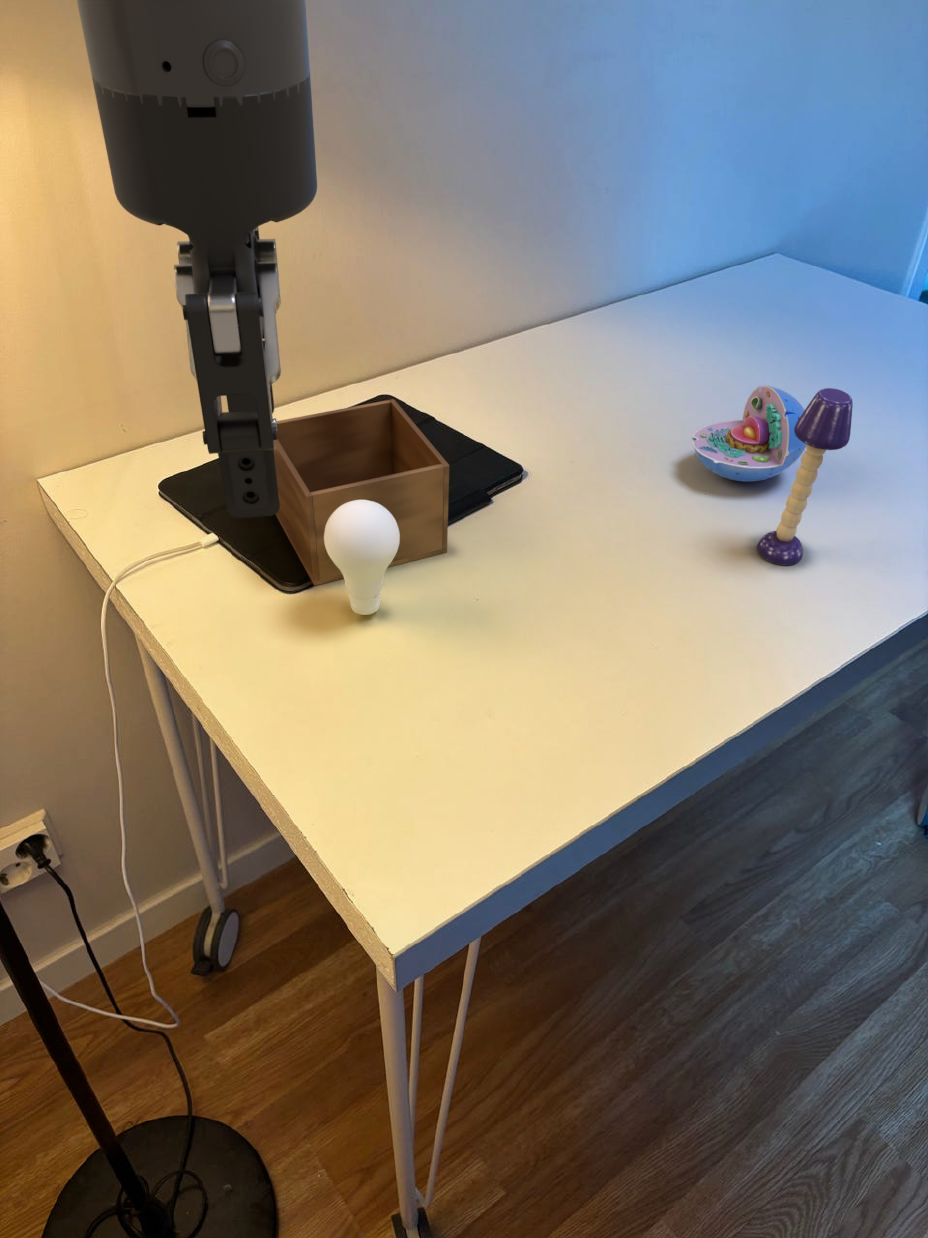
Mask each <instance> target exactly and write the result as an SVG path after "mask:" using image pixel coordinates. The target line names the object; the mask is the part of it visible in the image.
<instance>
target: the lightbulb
mask: <svg viewBox="0 0 928 1238" xmlns="http://www.w3.org/2000/svg"><path fill="white" fill-rule="evenodd" d="M324 543H325V548H326V550H327V553H328V555H329V557H330V558H331V559H332V561H333V562H334V564H335V565H336V566H337V567H338V568H339V569H340V571H341V572H342V574H343V577H344V578H343V580H344V584H345V589H346V591H347V593H348V597H349V605H350V608H351V610H352V611H353V612H354V613H355V614H357V615H361V616H368V615H372V614H374V613H376V612H377V611H378V610H379V609H380V606H381V593H382V590H383V587H384V578H385V573H386V571H387V569H388V568H389V567H388V566H389V564H390V563H391V562H392V560H393V558H394V557H395V555H396V553H397V550H398V547H399V543H400V533H399V529H398V525H397V523H396V520H395V518H394V517H393V516H392V514H391V513H390V512H389V511H388V510H387V509H386V508H385V507H383V506H382V505H380V504H378V503H376V502H373V501H369V500H354V501H350V502H347V503H345V504H343V505H341V506H340V507H339V508H337V509H336V510H335V511H334V512H333V514H332V515H331V516H330V518H329V519H328V521H327V524H326V527H325V532H324Z"/></svg>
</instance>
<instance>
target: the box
mask: <svg viewBox="0 0 928 1238" xmlns="http://www.w3.org/2000/svg"><path fill="white" fill-rule="evenodd" d="M276 421H277V431H276V432H277V440H274V456H275V465H276V474H277V483H278V492H279V504H280V508H279V511H278V512H277V513H276V514H274V515H275V516H276V519H277V520H278V521H279V522H278V523H279V524H280V526H281V527H282V529H283V532H284V533H285V534H286V537H287V539H288V540H289V542H290V545H292V547H293V549H294V551H295V553H296V555H297V556H298V558H299V561H300V562H301V565H302V566H303V568H304V569H305V571H306V573H307V575H308V577H309V579H310V581H311V582H312V584H313V586H319V585H324V584H327V583H331V582H334V581H339V580H344V577H343V574H342V572H341V571H340V569H339V568H338V567H337V566H336V565H335V564H334V562H333V561H332V559H331V558H330V557H329V555H328V553H327V550H326V548H325V543H324V532H325V527H326V524H327V521H328V519H329V518H330V516H331V515H332V514H333V512H334V511H335V510H336V509H337V508H339V507H340V506H341V505H343V504H345V503H347V502H350V501H354V500H369V501H373V502H376V503H378V504H380V505H382V506H383V507H385V508H386V509H387V510H388V511H389V512H390V513H391V514H392V516H393V517H394V518H395V520H396V523H397V525H398V529H399V533H400V543H399V547H398V550H397V553H396V555H395V557H394V558H393V560H392V562H391V563H390V564H389V566H388V567H387V568H390V567H391V568H392V567H394V566H399V565H402V564H406V563H410V562H414V561H418V560H421V559H426V558H430V557H434V556H437V555H441V554H445V553H448V535H449V534H448V533H449V531H448V530H449V529H448V527H449V523H448V522H449V491H450V489H449V487H450V484H449V483H450V464H449V463H448V462H447V461H446V460H445V458H444V457H443V456H442V455H441V453H440V452H439V450H438V449H437V448H436V447H435V446H434V445H433V444H432V442H430V440H429V439H428V438H427V437H426V435H424V433H423V432H422V431H421V429H420V428H419V427H418V426H417V425H416V424H415V422H414V421H413V420H412V419H411V418H410V417H409V415H408V414H407V413H406V412H405V410H404V409H403V408H402V407H401V405H400V404H399V403H398V402H397V401H396V400H395V399H394V398H393V399H392V398H391V399H385V400H381V401H376V402H371V403H370V402H369V403H365V404H360V405H355V406H349V407H344V408H338V409H334V410H328V411H324V412H318V413H313V414H308V415H302V416H301V415H300V416H296V417H292V418H285V419H281V420H276Z"/></svg>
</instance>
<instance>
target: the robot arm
mask: <svg viewBox="0 0 928 1238" xmlns="http://www.w3.org/2000/svg"><path fill="white" fill-rule="evenodd" d="M76 3H77V9H78V13H79V18H80V23H81V29H82V33H83V39H84V43H85V44H84V45H85V48H86V55H87V59H88V64H89V69H90V73H91V79H92V84H93V90H94V94H95V100H96V105H97V109H98V113H99V114H98V115H99V119H100V124H101V131H102V136H103V140H104V144H105V145H104V146H105V150H106V156H107V160H108V165H109V166H108V167H109V170H110V176H111V180H112V185H113V191H114V194H115V197H116V199H117V202H118V203H119V204H120V206H121V207H122V208H123V209H124V210H125V211H126V212H128V213H129V214H130V215H132V217H133V216H134V217H135V218H137V219H139V220H141V221H143V222H146V223H149V224H151V225H156V226H159V227H160V226H162V225H166V226H168V227H172V228H174V229H175V230H178V231H180V232H182V233H184V234H185V235H186V236H187V237H188V240H185V241H183V240H182V241H177V242H176V248H177V249H176V250H177V258H178V259H177V260H178V264H174V265H173V275H174V285H175V293H176V294H175V295H176V299H177V302H178V304H179V306H180V308H181V311H182V315H183V316H182V317H183V320H184V321H185V329H186V338H187V348H188V358H189V359H188V360H189V370H190V372H191V375H192V376H193V378H194V379H195V381H196V383H197V389H198V395H199V396H198V397H199V403H200V409H201V415H202V421H203V428H204V430H202V442H203V445H206V446H207V451H208V454H210V455H214V454H217V456H218V462H219V468H220V476H221V482H222V488H223V492H224V493H223V494H224V502H225V507H226V513H228V515H229V516H231V517H232V518H235V519H249V518H250V519H251V518H263V517H272V516H274V515H275V514H276V513H277V512H278V511H279V508H280V504H279V492H278V483H277V474H276V465H275V456H274V440H277V432H276V431H277V421H278V420H277V418H276V417H275V418H274V417H273V414H274V412H275V400H274V391H273V384H274V383H275V382H277V381H278V380H280V377H281V375H282V374H281V373H282V368H281V367H282V366H281V358H280V347H279V335H278V324H277V313H278V310H279V309H280V307H281V304H282V299H281V289H280V288H281V287H280V275H279V264H278V263H279V262H278V251H277V243H276V238H260V231H259V230H260V228H259V227H260V226H262V225H264V224H267V223H269V222H275V223H280V222H284V221H285V220H288V219H290V218H293V217H294V216H296V215H299V214H301V213H302V212H303V211H305V210H306V209H307V208H308V207H309V206H310V205H311V204H312V203H313V201H314V199H315V197H316V195H317V191H318V176H317V175H318V174H317V161H316V146H315V131H314V114H313V99H312V98H313V97H312V96H313V95H312V83H311V67H310V53H309V38H308V37H309V36H308V22H307V5H306V4H307V3H306V0H76ZM222 397H226V404H227V410H228V411H223V406H222Z"/></svg>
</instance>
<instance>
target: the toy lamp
mask: <svg viewBox="0 0 928 1238" xmlns="http://www.w3.org/2000/svg"><path fill="white" fill-rule="evenodd" d="M804 409H805V411H804V412H803V414H802V415H801V417H800V418H799V420H798V421H797V423H796V425H795V428H794V433H795V435H796V437H797V438H798V439H799V440H800V441H802V442H803V443H805V444H806V448H805V450H804V452H803V453H802V455H801V460H800V461H801V462H800V464H801V465H799V467H798V468H797V470H796V474H795V480H793V483H792V484H791V488H790V494H789V495H788V497H787V499H786V502H785V508H784V510H783V511H782V513H781V516H780V522H779V523H778V525H777V527H776V530H773V531H770V532H767V533H765V534H764V535H763V536H762V537H761V538H760V539H759V541H758V543H757V546H756V550H757V552H758V554H759V555H760V556H761V557H762V558H764V559H765V560H766V561H768V562H771V563H773V564H776V565H780V566H793V565H795V564H798V563H799V562H801V560H802V559H803V555H804V549H803V545H802V542H801V540H800V539H799V538H798V537H797V536H796V535H797V531H798V529H797V528H798V526H799V525H800V523H801V520H802V518H803V512H804V511H805V510H806V507H807V506H808V498H809V497H810V496H811V494H812V491H813V484H814V483H815V481H816V480H817V478H818V473H819V471H818V470H819V469H820V468H821V466H822V464H823V460H824V454H825V453H826V452H827V451H837V450H840V449H842V448H845V447H846V446H847V445H848V444H849V442H850V437H851V429H852V418H853V398H852V396H851V395H850V394H849V393H847V392H846V391H844V390H841V389H838V388H833V387H832V388H831V387H825V388H822V389H820V390H818V391H817V392H816V393H815V395H814V396H813V398H812V399H811V401H810V402H809V403H808V405H807V406H806V408H804Z"/></svg>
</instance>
